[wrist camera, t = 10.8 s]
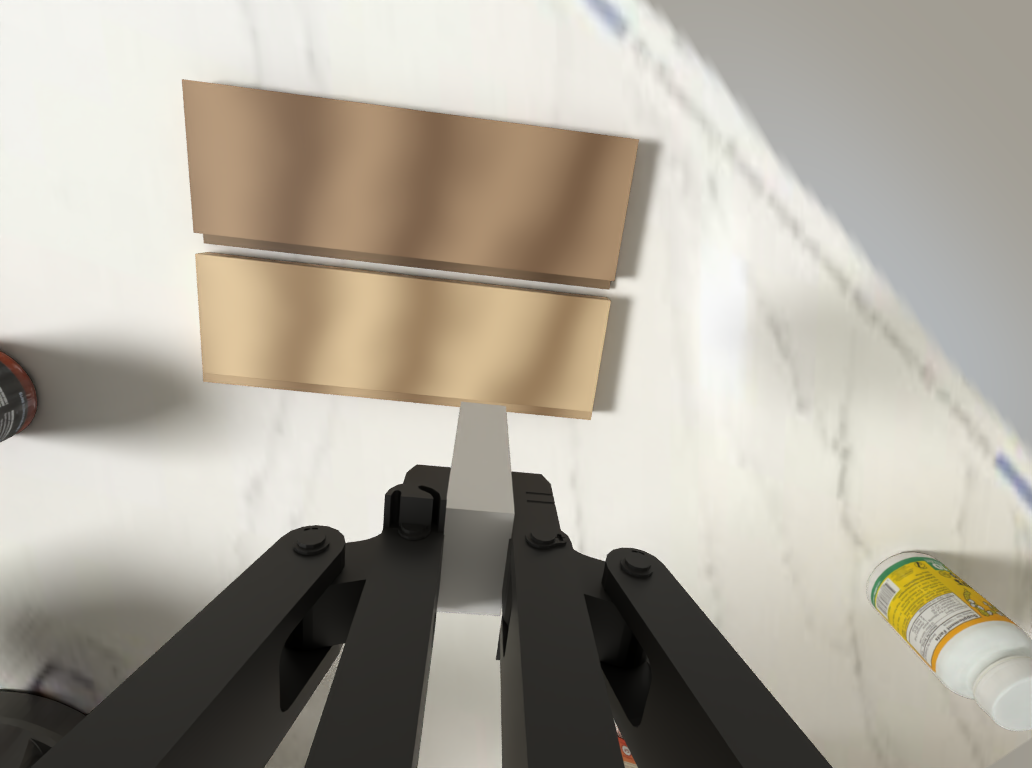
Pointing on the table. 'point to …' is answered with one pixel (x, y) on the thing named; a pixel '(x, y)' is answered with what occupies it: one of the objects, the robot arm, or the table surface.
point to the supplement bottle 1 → (15, 398)
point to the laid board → (405, 186)
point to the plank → (398, 336)
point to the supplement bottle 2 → (957, 635)
